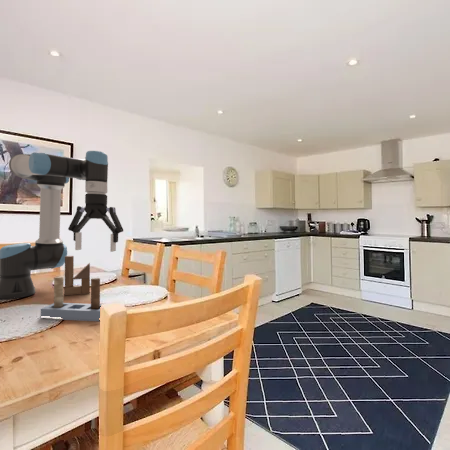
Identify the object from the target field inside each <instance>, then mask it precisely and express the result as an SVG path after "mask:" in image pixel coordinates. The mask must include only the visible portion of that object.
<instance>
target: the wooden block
mask: <svg viewBox="0 0 450 450" xmlns="http://www.w3.org/2000/svg"><path fill="white" fill-rule="evenodd" d="M90 263H91V262H89V263H87V264H86V265H85V266H84V268H82V269H81V270H80V271H79V272H78V273H77V274H76V275H75V276H74V266H75V265H74V255H67V256H65V263H64V286H63V296H70V295H71V296H72V295H73V296H74V295H84V294H85V295H86V294H91V278H90V277H91V275H90V274H91V267H90V266H91V264H90ZM74 280H81V285H78V284H77V285H75V284H74Z"/></svg>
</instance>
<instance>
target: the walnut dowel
mask: <svg viewBox="0 0 450 450" xmlns="http://www.w3.org/2000/svg"><path fill="white" fill-rule="evenodd" d="M90 304H91V309H95V310H98V309H100V304H101V278H100V277H92V278H90Z"/></svg>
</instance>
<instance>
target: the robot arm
mask: <svg viewBox="0 0 450 450" xmlns="http://www.w3.org/2000/svg"><path fill="white" fill-rule="evenodd" d="M84 158H85V159H81V158H74V157H67V156H61V155H54V154H50V153H46V152H36V151H35V152H34V151H33V152H31V154H29V153H28V154H27V153H24V154H23V153H21V154H20V153H19V154H15V155H14V156H12V157H11V158H10V160H9V162H8V167H9V170H10V171H11V173H12V174H13V175H14V176H16V177H18V178H21V179H25V180H29V181H36V186H37V187H38V188H40V194H39V195H40V196H39V229H38V230H39V232H38V233H39V235H38V239H37V240H35V241H34V242H35V243H34V245H32V244H31V243H30V242H22V243H20V242H19V243H13V244H7V245H4V246H2V247H1V248H0V300H11V299H10V298H13V299H21V298H26V297H29V296H32V295H34V294H35V293H36V287H35V285H34V282H33V279H32V276H31V273H32V271H37V270H38V271H40V270H46V269H47V270H48V269H55V268H60V267H62V266H64V265H65V256H68V248H67V245H66V244H65V243H64V241H63V239H61V238H60V235H61V234H60V232H61V230H60V229H61V202H62V201H61V199H62V198H61V197H62V192H61V191H62V190H63V189H64V188H65V187H66V186H65V185H66V184H68V183H69V182H70V179H76V180H80V181H81V180H82V181H85V193H86V194H85V195H84V199H85V200H84V203H85V206H82V205H78V206H77V207H76V212H75V214H74V216H73V219H72V220H71V222H70V224H69V226H68V229H67V230H68V231H70V232H72V233H73V242H74V245H75V247H74V249H75V251H79V250H82V239H83V238H82V229H83V228H84V227H85V225H86V224H87V223H88V222H89V221H90V220H93V219H94V220H95V219H96V220H102V221H103V222H104V224H105V225H106V226H107V228H108V229H109V230H110V231H111V232H112V233H110V247H109V248H110V250H109V251H110V253H111V252H115V251H117V243H118V242H119V234H120V233H123V232H124V228H123V226H122V224H121V222H120V219H119V217H118V215H117V212H116V207H114V206H109V207H108V206H107V205H108V195H107V194H108V176H109V174H108V173H109V172H108V171H109V169H108V168H109V160H108V159H109V158H108V154H107V153H106V152H103V151H100V150H87V151H86V152H85V157H84ZM84 213H85V214H84ZM107 213H108V214H109V215H110V218H111V219H112V221H111V219H110V218H109V215H107ZM83 214H84V215H83Z"/></svg>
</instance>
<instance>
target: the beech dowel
mask: <svg viewBox="0 0 450 450" xmlns="http://www.w3.org/2000/svg"><path fill="white" fill-rule="evenodd" d="M64 283H65V276H55V277H54V278H53V303H54V308H62V307H63V303H64Z"/></svg>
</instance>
